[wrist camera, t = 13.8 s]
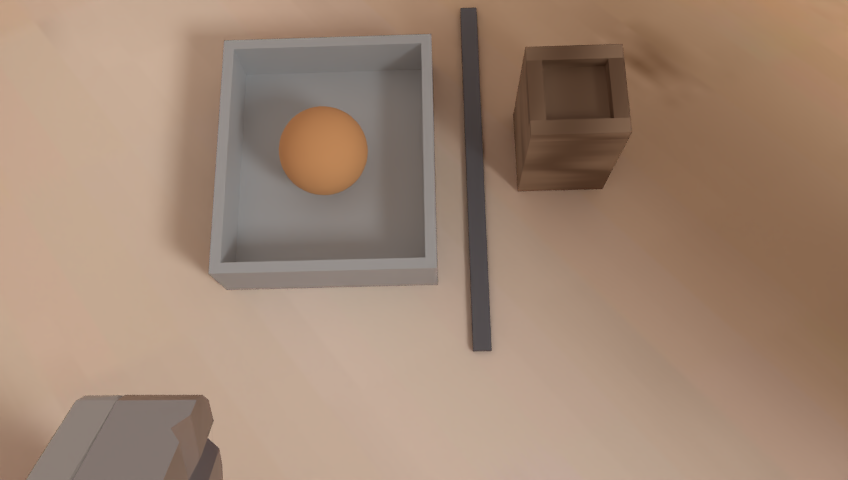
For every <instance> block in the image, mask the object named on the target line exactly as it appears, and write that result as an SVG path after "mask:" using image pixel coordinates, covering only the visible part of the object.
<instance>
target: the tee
mask: <svg viewBox="0 0 848 480" xmlns="http://www.w3.org/2000/svg"><path fill="white" fill-rule="evenodd" d="M513 117H514V134H515V152H516V169H517V186H518V191H541V190H578V189H602V188H603V186H604V184H605V183H606V181H607V179H608V177H609V175H610V173H611V171H612V169H613V167H614V165H615V163H616V162H617V160H618V158H619V156H620V154H621V152H622V150H623V148H624V146H625V144H626V143H627V141H628V139H629V137H630V135H631V133H632V128H631V119H630V109H629V100H628V91H627V82H626V72H625V63H624V54H623V44H606V45H574V46H542V47H525V53H524V59H523V64H522V70H521V75H520V81H519V86H518V92H517V98H516V103H515V109H514V114H513Z"/></svg>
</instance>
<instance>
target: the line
mask: <svg viewBox="0 0 848 480" xmlns="http://www.w3.org/2000/svg"><path fill="white" fill-rule="evenodd" d="M461 36H462V62H463V89H464V116H465V143H466V170H467V197H468V223H469V250H470V277H471V304H472V331H473V351H491V328H490V306H489V283H488V261H487V238H486V216H485V193H484V170H483V148H482V125H481V103H480V80H479V58H478V35H477V12H476V8H461Z"/></svg>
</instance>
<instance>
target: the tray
mask: <svg viewBox="0 0 848 480" xmlns="http://www.w3.org/2000/svg"><path fill="white" fill-rule="evenodd" d="M318 106H327V107H333V108H337V109H339V110H342V111H344V112H345V113H347V114H349V115H350V116H351V117H352V118H353V119H354V120H355V121H356V122H357V123H358V124H359V125H360V127H361V129H362V130H363V132H364V134H365V137H366V141H367V146H368V156H367V162H366V165H365V168H364V170H363V172H362V174H361V176H360V177H359V179H358V180H357V181H356V182H355V183H354V184H353V185H352V186H350V187H349V188H347V189H346V190H344V191H342V192H339V193H336V194H332V195H317V194H312V193H309V192H306V191H304V190H302V189H301V188H299V187H297V186H296V185H295V184H294V183H293V182H292V181H291V180H290V179H289V178H288V177H287V175H286V174H285V172H284V170H283V168H282V165H281V162H280V158H279V142H280V138H281V135H282V132H283V130H284V129H285V127H286V125H287V124H288V122H289V121H290V120H291V119H292V118H293V117H294V116H296V115H297V114H298V113H300V112H302V111H304V110H306V109H309V108H312V107H318ZM209 275H211V276H212V277H213V278H214V279H215V280H216V281H217V282H219V283H220V284H221V285H222V286H223V287H224V288H225V289H227V290H237V289H277V288H318V287H358V286H399V285H438V277H437V236H436V194H435V153H434V111H433V70H432V41H431V34H415V35H383V36H352V37H320V38H289V39H257V40H226V41H224V50H223V65H222V80H221V95H220V110H219V125H218V140H217V155H216V170H215V185H214V200H213V215H212V229H211V244H210V259H209Z"/></svg>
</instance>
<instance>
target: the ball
mask: <svg viewBox="0 0 848 480" xmlns="http://www.w3.org/2000/svg"><path fill="white" fill-rule="evenodd" d="M367 156H368V146H367V141H366V137H365V134H364V132H363V130H362V129H361V127H360V125H359V124H358V123H357V122H356V121H355V120H354V119H353V118H352V117H351V116H350V115H349V114H347V113H345V112H344V111H342V110H339V109H337V108H333V107H327V106H318V107H312V108H309V109H306V110H304V111H302V112H300V113H298V114H297V115H296V116H294V117H293V118H292V119H291V120H290V121H289V122H288V124H287V125H286V127H285V129H284V130H283V132H282V135H281V138H280V142H279V158H280V162H281V165H282V168H283V170H284V172H285V174H286V175H287V177H288V178H289V179H290V180H291V181H292V182H293V183H294V184H295V185H296V186H297V187H299V188H301V189H302V190H304V191H306V192H309V193H312V194H317V195H332V194H336V193H339V192H342V191H344V190H346V189H347V188H349V187H350V186H352V185H353V184H354V183H355V182H356V181H357V180H358V179H359V177H360V176H361V174H362V172H363V170H364V168H365V165H366V162H367Z"/></svg>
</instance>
